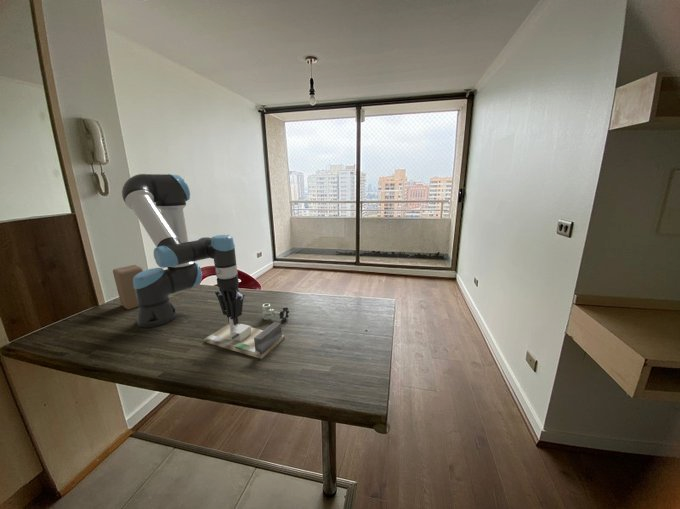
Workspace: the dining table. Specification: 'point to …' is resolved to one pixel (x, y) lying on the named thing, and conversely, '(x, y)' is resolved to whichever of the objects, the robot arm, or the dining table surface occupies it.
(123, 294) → the wooden block
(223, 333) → the board
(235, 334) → the white rectangular block
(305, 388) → the dining table surface
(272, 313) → the valve
